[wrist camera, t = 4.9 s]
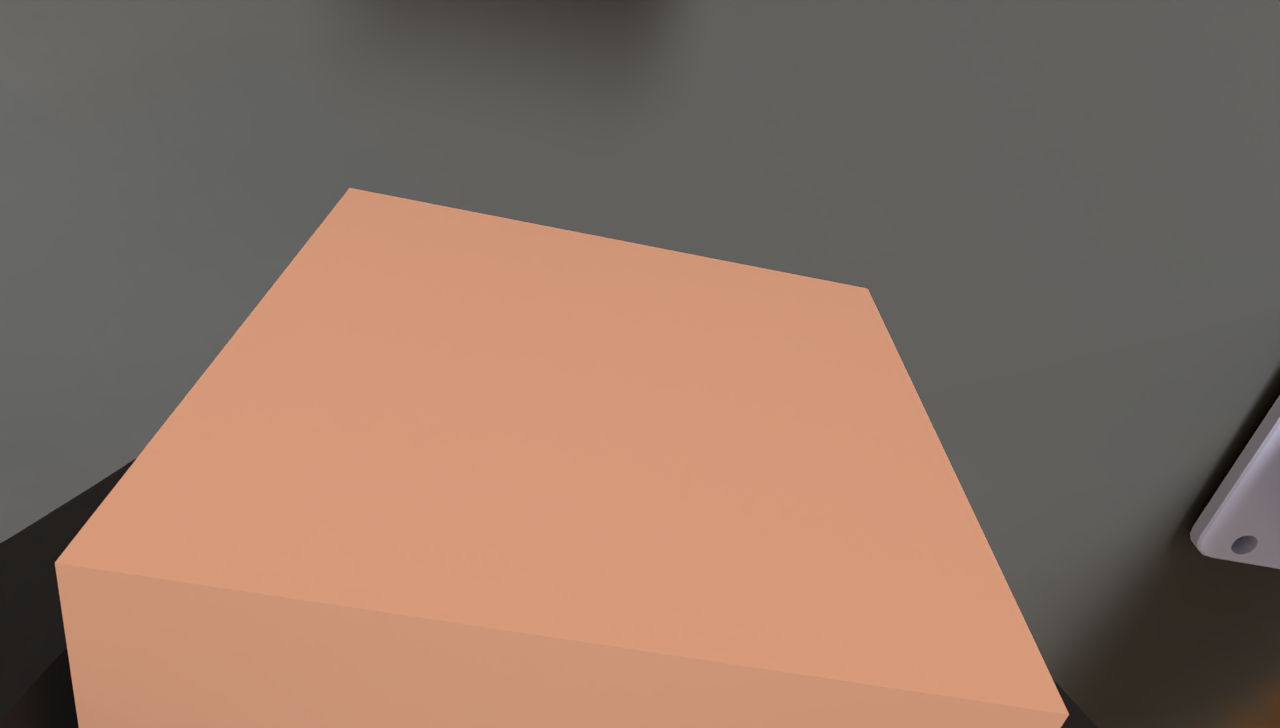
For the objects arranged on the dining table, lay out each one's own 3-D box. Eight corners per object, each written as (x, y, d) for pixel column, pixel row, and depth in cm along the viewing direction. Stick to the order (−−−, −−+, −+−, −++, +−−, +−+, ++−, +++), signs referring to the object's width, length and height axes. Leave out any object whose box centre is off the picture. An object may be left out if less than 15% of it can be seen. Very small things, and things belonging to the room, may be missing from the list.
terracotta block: (866, 289, 9) (1068, 714, 5) (736, 644, 12) (791, 1136, 7) (350, 188, 9) (55, 564, 4) (328, 582, 11) (128, 1072, 7)
